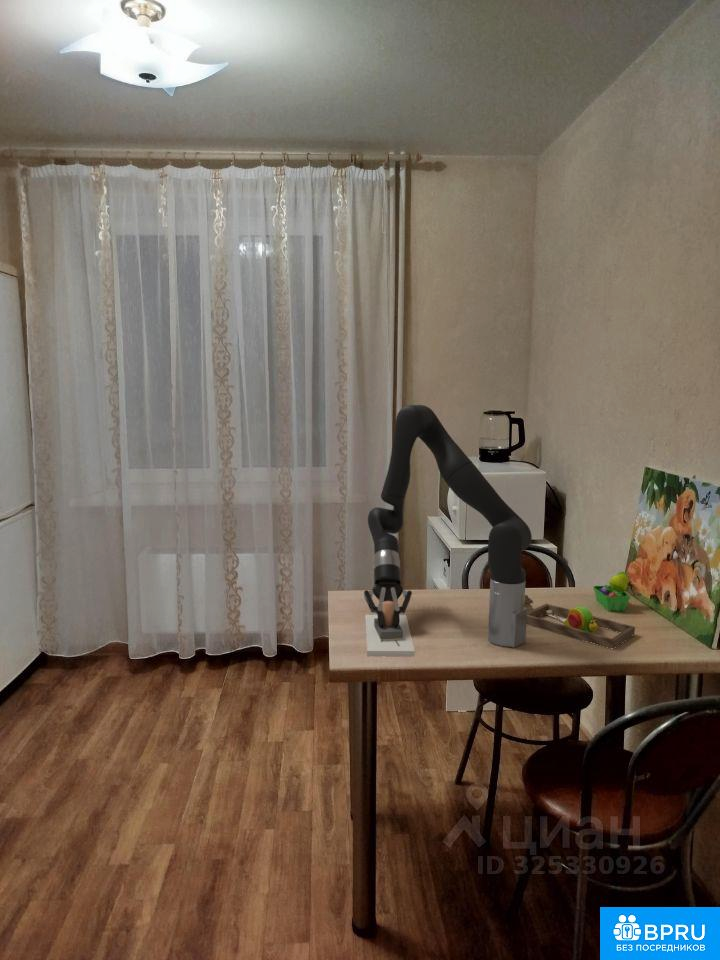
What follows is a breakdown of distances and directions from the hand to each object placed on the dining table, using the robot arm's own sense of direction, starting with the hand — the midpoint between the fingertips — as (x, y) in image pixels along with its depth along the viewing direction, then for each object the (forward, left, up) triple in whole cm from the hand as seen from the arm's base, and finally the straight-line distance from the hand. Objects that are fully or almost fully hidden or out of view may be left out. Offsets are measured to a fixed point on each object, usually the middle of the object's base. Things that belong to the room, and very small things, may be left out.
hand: (388, 625), depth 175 cm
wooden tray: (-32, -45, -4) cm, 55 cm away
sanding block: (+2, -2, -3) cm, 4 cm away
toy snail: (-29, -47, -5) cm, 56 cm away
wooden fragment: (-7, -53, -5) cm, 54 cm away
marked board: (+2, -2, -4) cm, 6 cm away
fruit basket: (-31, -71, -5) cm, 78 cm away
